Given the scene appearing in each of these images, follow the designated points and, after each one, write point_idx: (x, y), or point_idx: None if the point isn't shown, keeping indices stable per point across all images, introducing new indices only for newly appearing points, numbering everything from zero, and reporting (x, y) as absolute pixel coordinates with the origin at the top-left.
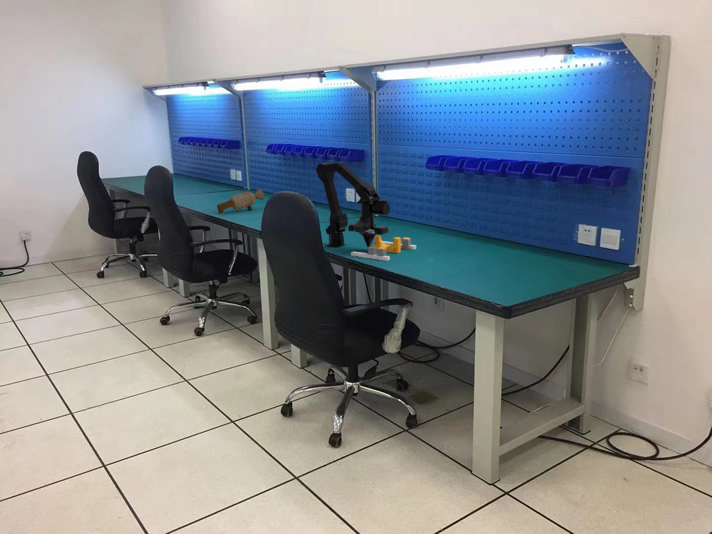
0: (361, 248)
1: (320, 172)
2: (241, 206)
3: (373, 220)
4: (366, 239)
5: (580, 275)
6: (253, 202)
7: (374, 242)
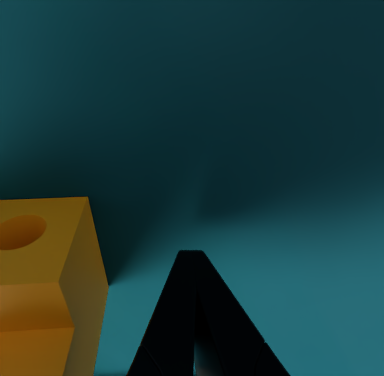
0: (307, 250)
1: None
2: None
3: None
4: (221, 371)
5: None
6: None
7: (67, 347)
